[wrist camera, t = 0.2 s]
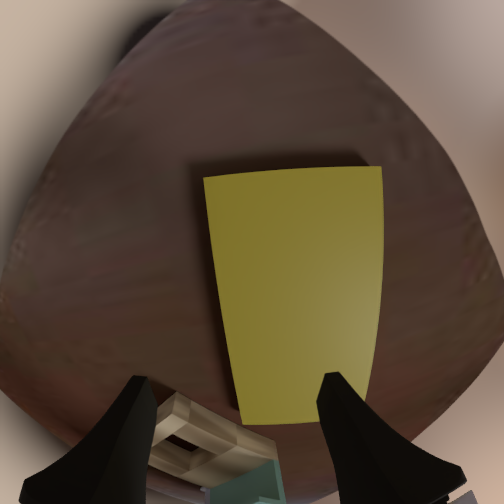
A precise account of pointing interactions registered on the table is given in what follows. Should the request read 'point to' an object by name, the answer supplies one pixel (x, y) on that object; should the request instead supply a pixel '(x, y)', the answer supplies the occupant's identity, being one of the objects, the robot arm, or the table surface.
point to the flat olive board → (297, 282)
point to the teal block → (252, 487)
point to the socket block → (205, 444)
